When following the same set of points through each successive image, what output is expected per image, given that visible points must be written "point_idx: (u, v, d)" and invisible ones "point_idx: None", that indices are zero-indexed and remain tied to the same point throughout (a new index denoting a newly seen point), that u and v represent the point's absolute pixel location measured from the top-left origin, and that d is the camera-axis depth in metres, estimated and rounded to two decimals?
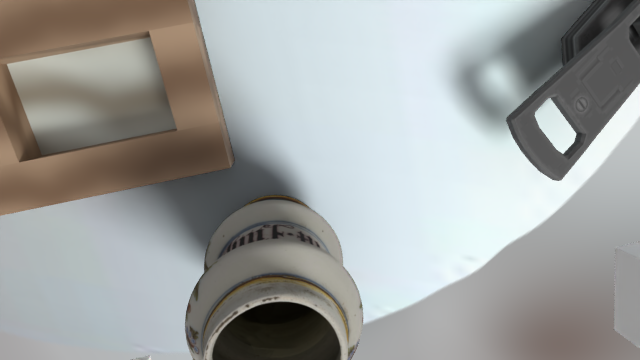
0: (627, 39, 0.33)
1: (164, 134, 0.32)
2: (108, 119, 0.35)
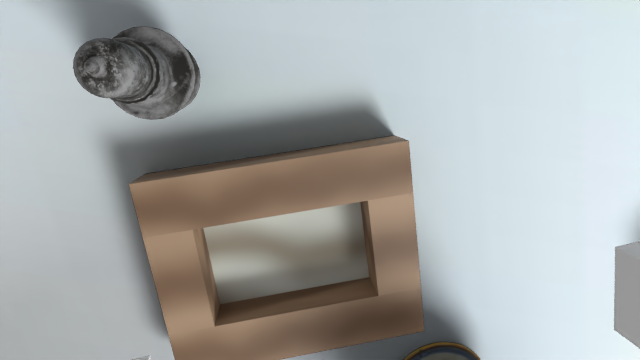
0: None
1: (365, 299, 0.31)
2: (293, 269, 0.33)
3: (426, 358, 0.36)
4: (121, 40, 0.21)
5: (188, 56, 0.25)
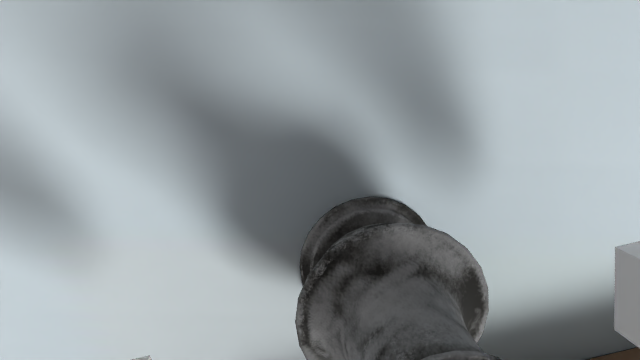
0: None
1: None
2: None
3: None
4: None
5: (481, 274, 0.11)
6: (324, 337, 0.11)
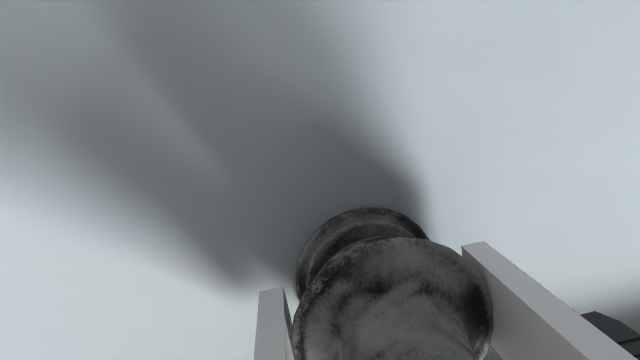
0: None
1: None
2: None
3: None
4: None
5: (486, 290, 0.11)
6: (321, 358, 0.10)
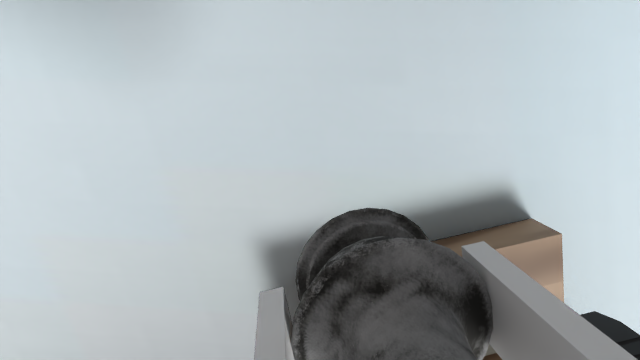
0: None
1: None
2: None
3: None
4: None
5: (485, 291, 0.11)
6: (321, 358, 0.10)
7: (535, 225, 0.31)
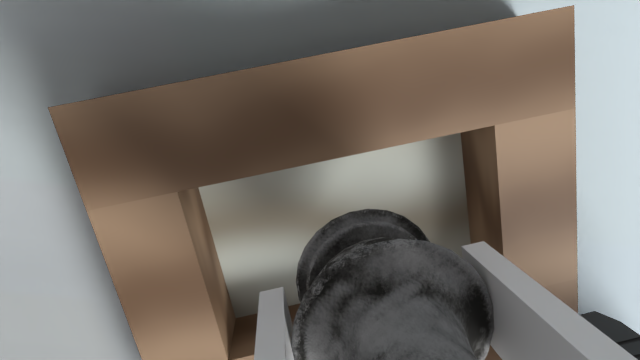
0: None
1: None
2: None
3: None
4: None
5: (487, 292, 0.11)
6: None
7: None
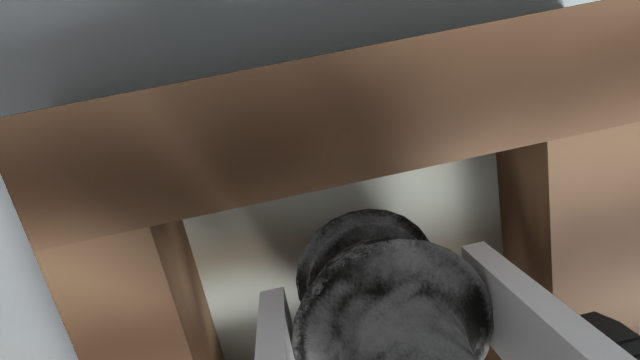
0: None
1: None
2: None
3: None
4: None
5: (486, 292, 0.11)
6: None
7: None
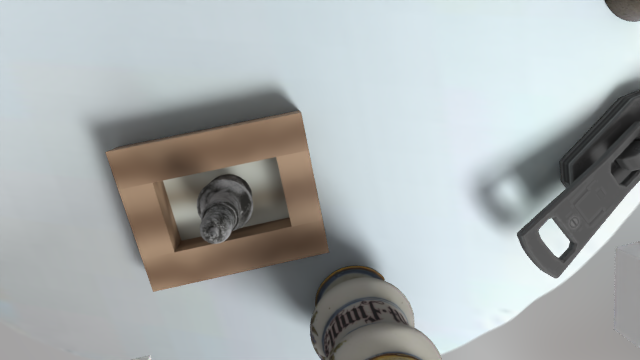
0: (609, 173, 0.44)
1: (282, 229, 0.43)
2: None
3: (340, 277, 0.48)
4: (217, 202, 0.37)
5: (249, 193, 0.41)
6: None
7: (294, 112, 0.42)
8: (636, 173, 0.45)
